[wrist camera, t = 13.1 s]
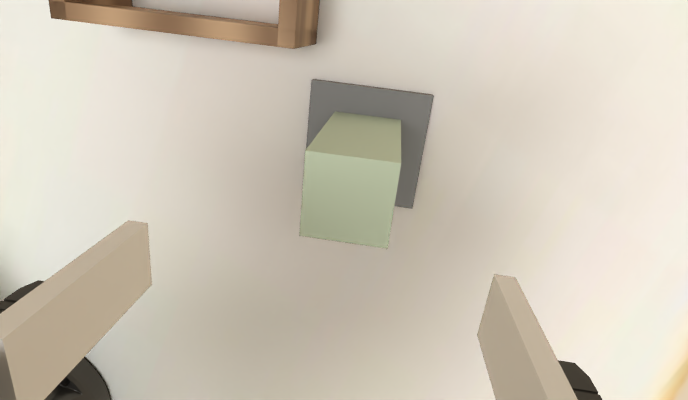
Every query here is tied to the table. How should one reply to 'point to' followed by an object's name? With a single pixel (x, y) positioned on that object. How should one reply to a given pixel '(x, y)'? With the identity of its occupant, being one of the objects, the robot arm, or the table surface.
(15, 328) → the robot arm
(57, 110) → the table surface
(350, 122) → the block
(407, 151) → the mat
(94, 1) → the brown wooden frame
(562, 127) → the table surface
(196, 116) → the table surface
